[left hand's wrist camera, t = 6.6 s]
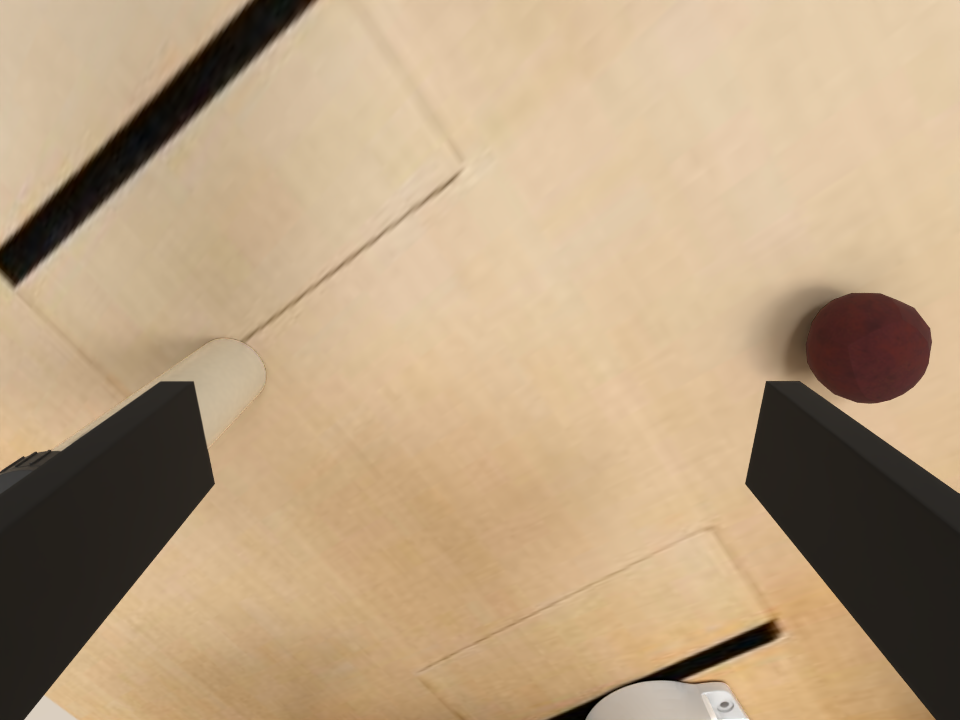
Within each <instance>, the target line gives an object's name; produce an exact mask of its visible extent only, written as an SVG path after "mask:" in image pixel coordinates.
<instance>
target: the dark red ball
mask: <svg viewBox="0 0 960 720" xmlns="http://www.w3.org/2000/svg"><path fill="white" fill-rule="evenodd" d="M931 344H932V339H931V332H930V328H929V326H928V325H927V324H926V323H925V321H924V320H923V319H922V317H921V316H920V315H919V313H918V312H917V311H916V310H915V308H913V307H911V306H909V305H907V304H905V303H903V302H901V301H898V300H896V299H893V298H891V297H888V296H885V295H883V294H880V293H851V294H848V295H845V296H842V297H839V298H837V299H834V300H832V301H831V302H829V303H828V304H827V305H826V306H825V307H823V308H822V309H821V310H820V311H819V313H818V314H817V316H816V317H815V319H814V320H813V322H812V324H811V328H810V331H809V335H808V338H807V342H806V352H807V362H808V364H809V366H810V369H811V370H812V372H813V373H814V375H815V376H816V378H817V379H818V380H819V381H820V382H821V383H822V384H823V385H824V386H825V387H826V388H828V389H829V390H830V391H831V392H832V393H834V394H835V395H838V396H841V397H843V398H846V399H849V400H852V401H854V402H857V403H879V402H884V401H888V400H891V399H894V398H896V397H898V396H900V395H903V394H904V393H906V392H907V391H908V390H910V389H911V388H913V387H914V386H915V385H916V384H917V383H918V381H919V380H920V379H921V378H922V376H923V375H924V374H925V371H926V369H927V366H928V364H929V357H930V350H931Z"/></svg>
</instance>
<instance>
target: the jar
mask: <svg viewBox="0 0 960 720" xmlns="http://www.w3.org/2000/svg"><path fill="white" fill-rule="evenodd" d="M160 381H194V384H195V389H196V394H197V399H198V404H199V409H200V414H201V419H202V424H203V429H204V433H205V438H206V443H207V448H208V449H209V448H210V447H211V446H212V445H213V444H214V443H215V442H216V440H217V439H218V438H219V437H220V436H221V435H222V434H223V433H224V432H225V431H226V430H227V429H228V428H229V426H230V425H231V424H232V423H233V422H234V421H235V420H236V419H237V418H238V417H239V416H240V415H241V413H242V412H243V411H244V410H245V409H246V408H247V407H248V406H249V405H250V404H251V403H252V402H253V401H254V399H255V398H256V397H257V396H258V395H259V394H260V393H261V391H262V390H263V388H264V386H265V382H266V370H265V366H264V364H263V361H262V360H261V358H260V356H259V355H258V354H257V353H256V352H255V351H254V350H253V349H252V348H251V347H250V346H248V345H247V344H245V343H243V342H241V341H238V340H234V339H229V338H220V339H215V340H212V341H210V342H208V343H206V344H205V345H203V346H202V347H200V348H199V349H197V350H196V351H194V352H193V353H191V354H190V355H189V356H187V357H186V358H184V359H183V360H181V361H180V362H178V363H177V364H175V365H174V366H172V367H171V368H170V369H168V370H167V371H165V372H164V373H162V374H161V375H159V376H158V377H156V378H155V379H154V380H152V381H151V382H149V383H148V384H146V385H145V386H143V387H142V388H140V389H139V390H137V391H136V392H135V393H133V394H132V395H130V396H129V397H127V398H126V399H124V400H123V401H121V402H120V403H118V404H117V405H116V406H114V407H113V408H111V409H110V410H108V411H107V412H105V413H104V414H102V415H101V416H99V417H98V418H97V419H95V420H94V421H92V422H91V423H89V424H88V425H86V426H85V427H83V428H82V429H80V430H79V431H78V432H76V433H75V434H73V435H72V436H70V437H69V438H67V439H66V440H64V441H63V442H61V443H60V444H59V445H57V446H56V447H54V448H53V449H51V451H62V450H64V449H65V448H66V447H68V446H69V445H71V444H72V443H73V442H75V441H76V440H78V439H79V438H81V437H82V436H83V435H85V434H86V433H88V432H89V431H90V430H92V429H93V428H95V427H96V426H98V425H99V424H100V423H102V422H103V421H105V420H106V419H108V418H109V417H110V416H112V415H113V414H115V413H116V412H117V411H119V410H120V409H122V408H123V407H125V406H126V405H127V404H129V403H130V402H132V401H133V400H134V399H136V398H137V397H139V396H140V395H142V394H143V393H144V392H146V391H147V390H149V389H150V388H152V387H153V386H154V385H156V384H157V383H159V382H160Z"/></svg>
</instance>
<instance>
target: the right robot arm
mask: <svg viewBox="0 0 960 720" xmlns="http://www.w3.org/2000/svg"><path fill="white" fill-rule="evenodd" d="M586 720H750V719H749V717H748V716H747V714H746V713H745V711H744V709H743V708H742V706H741V705H740V703H739V701H738V700H737V698H736V697H735V695H734V694H733V692H732V690H731V689H730V687H729V686H728V685H727V684H726V683H723V682H708V683H700V684H688V683H682V682H676V681H666V680H657V681H646V682H640V683H636V684H632V685H629V686H626V687H623V688H621V689H619V690H616V691H614V692H613V693H611V694H609V695H608V696H606V697H605V698H603V699H602V700H601V701H600V702H598V703H597V704H596V705H595V706H594V707H593V709H592V710H591V711H590V713H589V714H588V716H587V718H586Z"/></svg>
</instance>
